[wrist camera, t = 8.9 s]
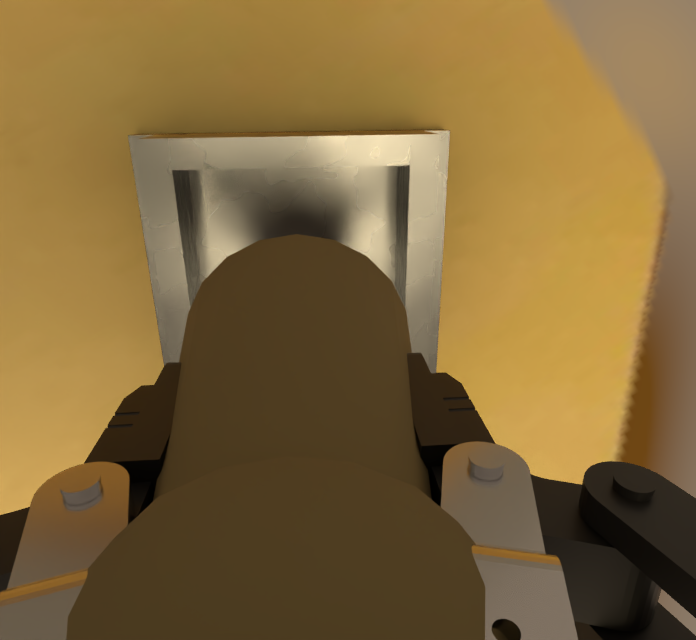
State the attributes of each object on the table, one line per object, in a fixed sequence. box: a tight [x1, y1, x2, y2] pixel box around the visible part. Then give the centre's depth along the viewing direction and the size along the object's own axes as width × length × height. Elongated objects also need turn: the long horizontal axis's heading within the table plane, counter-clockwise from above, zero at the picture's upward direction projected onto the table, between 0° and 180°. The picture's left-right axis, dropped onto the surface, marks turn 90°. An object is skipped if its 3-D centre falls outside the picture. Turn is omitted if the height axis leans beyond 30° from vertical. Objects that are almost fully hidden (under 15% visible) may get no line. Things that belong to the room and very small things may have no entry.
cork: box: [66, 234, 508, 640], centre depth 9 cm, size 6×6×11 cm
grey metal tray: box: [128, 129, 450, 373], centre depth 23 cm, size 12×20×4 cm, turn 1°
